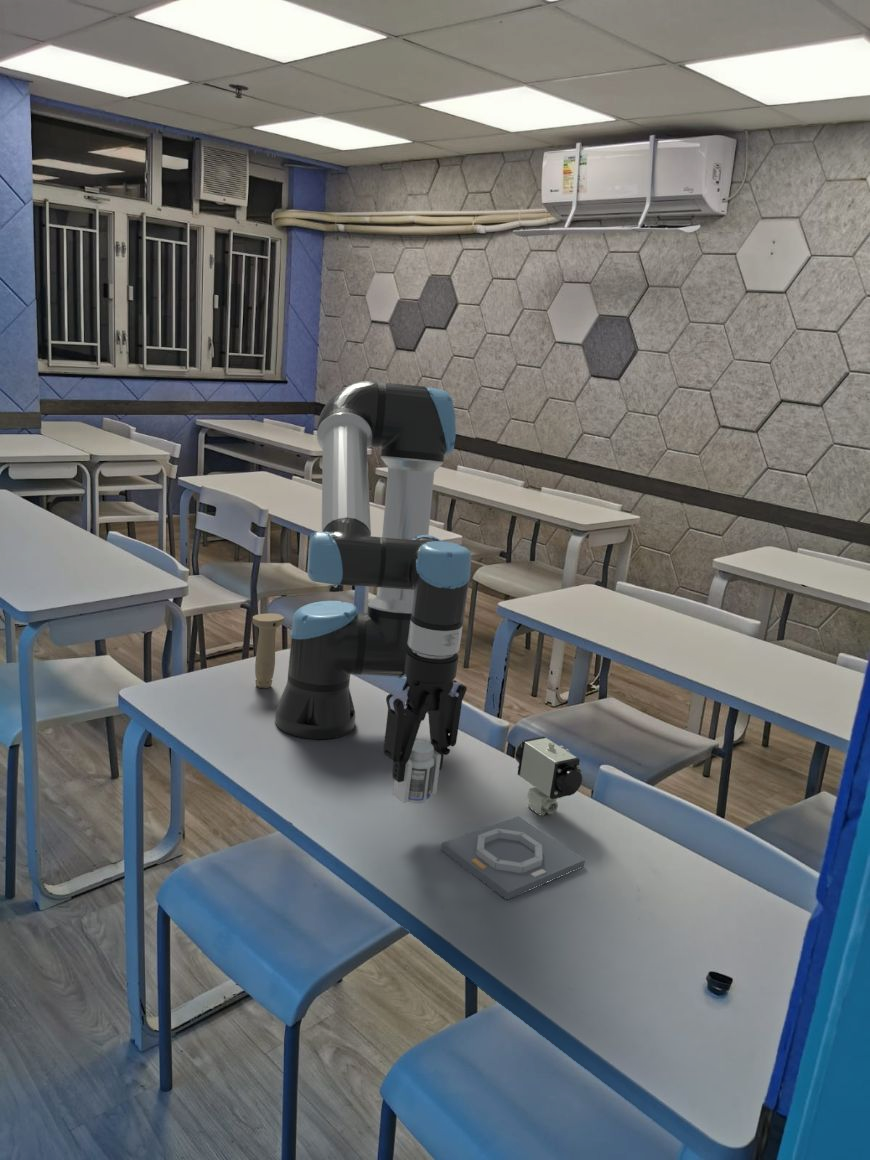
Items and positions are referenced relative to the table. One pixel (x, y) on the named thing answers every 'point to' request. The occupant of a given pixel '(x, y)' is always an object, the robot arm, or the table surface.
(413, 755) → the pill bottle
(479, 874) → the slate board
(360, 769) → the table surface
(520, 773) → the pneumatic valve
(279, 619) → the handle
